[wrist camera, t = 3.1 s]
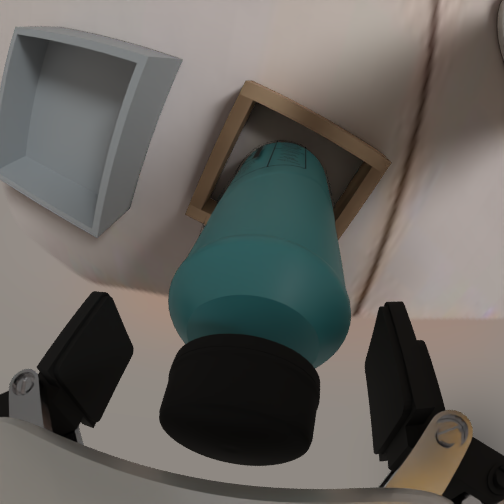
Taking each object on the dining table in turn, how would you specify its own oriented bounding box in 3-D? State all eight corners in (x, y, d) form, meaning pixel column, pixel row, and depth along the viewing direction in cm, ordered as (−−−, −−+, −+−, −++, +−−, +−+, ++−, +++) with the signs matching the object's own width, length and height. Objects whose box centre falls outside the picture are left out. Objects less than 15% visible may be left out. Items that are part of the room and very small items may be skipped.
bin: (182, 59, 19) (148, 56, 15) (129, 208, 27) (97, 237, 22) (58, 26, 18) (15, 26, 13) (29, 155, 25) (-8, 174, 20)
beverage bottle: (267, 119, 21) (113, 306, 4) (344, 164, 22) (427, 431, 5) (228, 190, 24) (93, 426, 8) (300, 229, 25) (275, 493, 8)
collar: (383, 154, 21) (391, 162, 19) (310, 261, 27) (310, 277, 25) (251, 80, 20) (245, 80, 18) (194, 202, 25) (185, 214, 23)
